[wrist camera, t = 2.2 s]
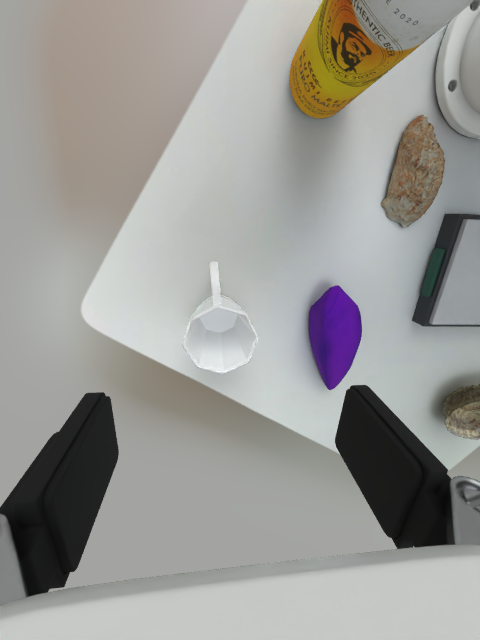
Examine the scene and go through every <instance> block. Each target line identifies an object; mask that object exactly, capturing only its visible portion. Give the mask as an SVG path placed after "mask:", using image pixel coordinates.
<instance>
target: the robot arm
mask: <svg viewBox="0 0 480 640" xmlns="http://www.w3.org/2000/svg"><path fill="white" fill-rule="evenodd" d="M436 93H437V98H438V103H439V106H440V109H441V111H442V114H443V116H444V118H445V119H446V121H447V122H448V123H449V125H450V126H451V127H452V128H453V129H455V130H456V131H457V132H458V133H460V134H462V135H465V136H467V137H471V138H480V0H474V1H473V2H472V3H471V4H470V5H469V6H468V7H467V8H465V9H464V10H463V11H462V12H461V13H459V14H458V15H457V16H456V17H454V18H453V19H452V20H451V21H450V23H449V24H448V27H447V29H446V32H445V35H444V37H443V40H442V43H441V47H440V51H439V55H438V59H437V67H436ZM335 443H336V447H337V449H338V451H339V453H340V454H341V456H342V458H343V460H344V462H345V463H346V465H347V467H348V469H349V470H350V472H351V474H352V476H353V478H354V479H355V481H356V483H357V485H358V486H359V488H360V490H361V492H362V494H363V495H364V497H365V499H366V501H367V502H368V504H369V506H370V508H371V509H372V511H373V513H374V515H375V516H376V518H377V520H378V522H379V524H380V525H381V527H382V529H383V531H384V532H385V533H386V535H387V536H388V537H391V538H392V540H393V542H394V543H395V545H396V547H397V549H394V550H384V551H375V552H365V553H357V554H347V555H337V556H328V557H320V558H310V559H301V560H292V561H284V562H275V563H267V564H257V565H249V566H240V567H231V568H222V569H214V570H206V571H198V572H190V573H181V574H173V575H164V576H157V577H148V578H140V579H131V580H124V581H117V582H110V583H103V584H96V585H88V586H82V587H75V588H68V589H63V590H58V591H53V592H48V590H49V589H51V588H61V587H64V586H65V584H66V581H67V578H68V576H69V573H70V572H74V571H75V570H76V569H77V567H78V565H79V562H80V560H81V557H82V554H83V552H84V549H85V546H86V543H87V541H88V538H89V535H90V533H91V530H92V527H93V525H94V522H95V519H96V517H97V514H98V511H99V509H100V506H101V503H102V501H103V497H104V495H105V492H106V490H107V487H108V484H109V482H110V479H111V476H112V474H113V471H114V468H115V466H116V463H117V460H118V444H117V438H116V432H115V425H114V418H113V412H112V405H111V399H110V397H109V396H105V393H86V394H85V395H84V397H83V398H82V400H81V401H80V403H79V404H78V406H77V407H76V408H75V410H74V411H73V412H72V414H71V415H70V417H69V418H68V420H67V421H66V422H65V424H64V425H63V427H62V428H61V430H60V431H59V432H57V433H55V434H53V435H52V437H51V438H50V439H49V440H48V442H47V443H46V445H45V446H44V447H43V449H42V450H41V452H40V453H39V455H38V456H37V457H36V459H35V460H34V461H33V463H32V464H31V465H30V467H29V468H28V470H27V471H26V472H25V474H24V475H23V477H22V478H21V479H20V481H19V482H18V484H17V485H16V487H15V488H14V489H13V491H12V492H11V493H10V495H9V496H8V498H7V499H6V500H5V502H4V503H3V504H2V506H1V507H0V640H480V481H478V480H476V479H472V478H470V477H464V476H457V477H454V478H453V479H451V478H450V477H449V476H448V475H447V471H448V469H447V468H446V467H445V466H444V465H443V464H442V463H441V462H440V461H439V460H438V459H437V458H436V457H435V456H434V455H433V454H432V453H431V452H430V451H429V449H428V448H427V447H426V446H425V445H424V444H423V443H422V442H421V441H420V440H419V439H418V438H417V437H416V436H415V435H414V434H413V433H412V432H411V431H410V430H409V429H408V428H407V427H406V425H405V424H404V423H403V422H402V421H401V420H400V419H399V418H398V417H397V416H396V415H395V414H394V413H393V412H392V411H391V410H390V409H389V408H388V407H387V406H386V405H385V404H384V402H383V401H382V400H381V399H380V398H379V397H378V396H377V395H376V394H375V393H374V392H373V391H372V390H371V389H370V388H369V387H368V386H366V385H353V386H351V387H350V389H348V390H347V391H346V395H345V399H344V403H343V408H342V412H341V416H340V420H339V425H338V429H337V433H336V438H335ZM413 546H414V547H415V548H411V547H413ZM402 548H404V549H402Z"/></svg>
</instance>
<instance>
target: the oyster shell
mask: <svg viewBox="0 0 480 640" xmlns="http://www.w3.org/2000/svg"><path fill="white" fill-rule="evenodd" d="M433 130H434V128H433V125H432V124H431V123H428V118H427V117H425V116H424V115H421V116H419V117H417V118H416V119H414V120H413V121H412V122H410V124H409V125H408V127H407V128H406V130H405V132H404V133H403V136H402V139H401V141H400V144H399V145H400V146H399V149H398V157H397V159H396V164H395V166H394V169H393V172H392V174H391V175H392V178H391V181H390V185H389V187H388V194H387V197H386V199H384V200H383V201H382V203H381V204H382V207H384V209H385V210H387V212H386V214H387V217H388V218H389V219H391V220H393V221H396V222H399V223H401V227H406V226H407V227H408V226H409V225H410V224H411V223H412V222H414V221H416V220H418V219H419V218H420V217H421V216H422V215H423V214H424V213H425V212H426V210H427V209H428V208H429V207H430V206H431V204H432V202H433V200H434V198H435V197H436V195H437V193H438V190H439V188H440V185H441V183H442V178H443V172H444V163H445V159H444V156H443V155H444V152H443V150H442V149H441V147H440V145H439V144H438V143H437V140H436V138H435V134H434V133H433ZM399 220H400V221H399Z"/></svg>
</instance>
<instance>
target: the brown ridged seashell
mask: <svg viewBox="0 0 480 640" xmlns="http://www.w3.org/2000/svg"><path fill="white" fill-rule="evenodd" d="M443 412H444V414H443V415H445V416H446V420H445V425H446V428H447V430H449V431H450V432H451V433H453V434H454V435H457V436H459V437H463V438H469V439H477V440H478V439H479V440H480V384H478V386H474V385H472V386H469V387H466V388H463V387H462V388H461V389H459V390H458V391H454V393H452V394H450V395H449V396H448V397H446V399H445V403H444V411H443Z"/></svg>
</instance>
